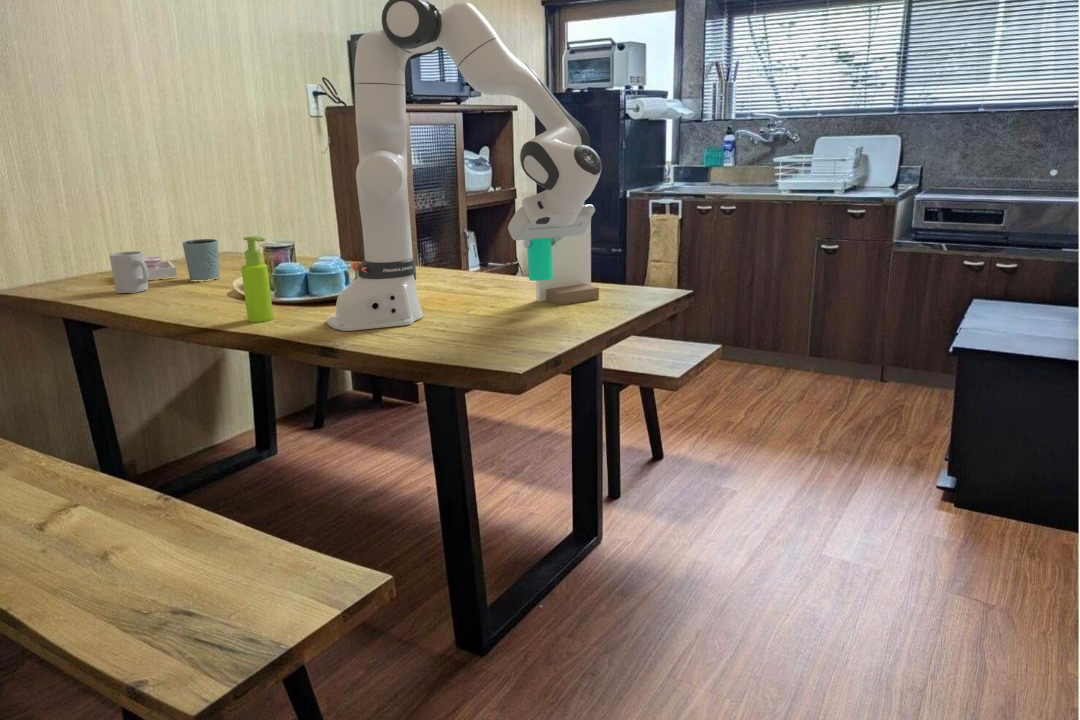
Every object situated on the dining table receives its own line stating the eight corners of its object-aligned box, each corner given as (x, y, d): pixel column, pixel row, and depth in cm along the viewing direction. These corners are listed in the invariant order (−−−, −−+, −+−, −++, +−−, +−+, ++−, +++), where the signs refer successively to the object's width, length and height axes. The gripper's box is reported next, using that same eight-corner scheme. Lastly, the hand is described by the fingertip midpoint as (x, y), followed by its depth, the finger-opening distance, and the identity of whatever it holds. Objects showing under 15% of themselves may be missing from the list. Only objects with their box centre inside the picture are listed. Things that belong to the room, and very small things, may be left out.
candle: (549, 280, 187) (547, 229, 185) (525, 281, 189) (522, 230, 186) (556, 277, 193) (553, 228, 190) (532, 278, 194) (530, 229, 192)
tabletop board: (553, 306, 197) (551, 217, 191) (536, 300, 204) (534, 215, 197) (605, 298, 205) (605, 213, 198) (587, 293, 211) (587, 210, 205)
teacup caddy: (121, 284, 239) (119, 272, 238) (118, 276, 252) (116, 265, 251) (177, 278, 246) (175, 267, 245) (171, 271, 259) (169, 260, 258)
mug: (109, 292, 226) (102, 255, 223) (136, 287, 233) (129, 250, 230) (136, 296, 220) (130, 257, 217) (163, 290, 228) (157, 252, 224)
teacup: (151, 273, 257) (148, 255, 255) (180, 275, 253) (177, 256, 251) (121, 280, 246) (118, 260, 244) (150, 282, 242) (147, 262, 240)
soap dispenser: (261, 323, 185) (251, 239, 179) (242, 320, 188) (231, 237, 183) (281, 318, 190) (271, 236, 184) (262, 315, 193) (252, 234, 187)
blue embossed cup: (204, 276, 249) (199, 238, 246) (230, 277, 246) (225, 239, 242) (180, 282, 240) (174, 242, 237) (207, 283, 237) (201, 243, 233)
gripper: (592, 194, 185) (570, 231, 196) (517, 198, 175) (497, 237, 186) (603, 215, 183) (579, 251, 194) (527, 220, 173) (506, 258, 184)
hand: (538, 244), depth 190 cm, fingers closed on candle, 5 cm apart
